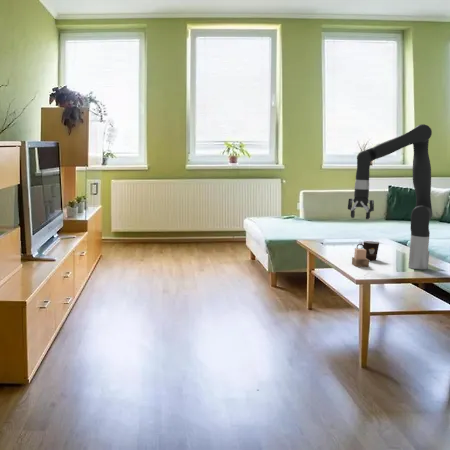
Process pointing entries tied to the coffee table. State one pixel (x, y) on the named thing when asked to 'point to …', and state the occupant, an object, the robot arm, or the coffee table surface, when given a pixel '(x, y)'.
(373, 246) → the coffee mug
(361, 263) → the walnut box
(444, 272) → the coffee table surface
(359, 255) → the terracotta cube
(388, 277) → the coffee table surface
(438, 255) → the coffee table surface
